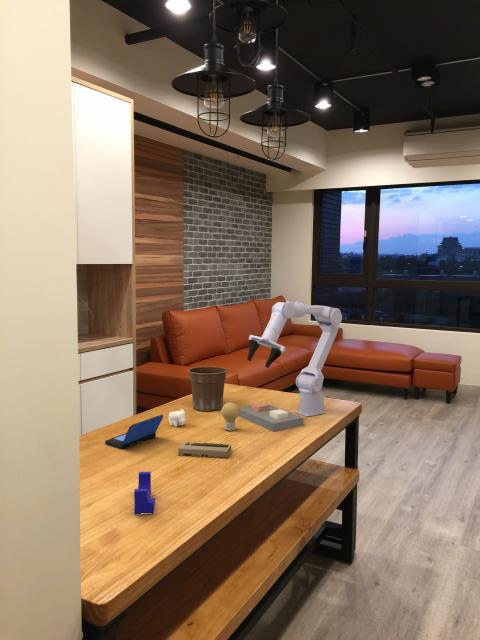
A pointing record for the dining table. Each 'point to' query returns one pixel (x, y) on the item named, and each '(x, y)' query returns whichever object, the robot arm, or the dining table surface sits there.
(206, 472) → the dining table surface
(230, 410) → the light bulb
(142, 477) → the blue stepped block
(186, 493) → the dining table surface
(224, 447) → the computer
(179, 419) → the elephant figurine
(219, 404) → the plant pot
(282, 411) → the white key
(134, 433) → the handheld game console
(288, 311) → the robot arm
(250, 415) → the key console
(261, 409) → the terracotta key
